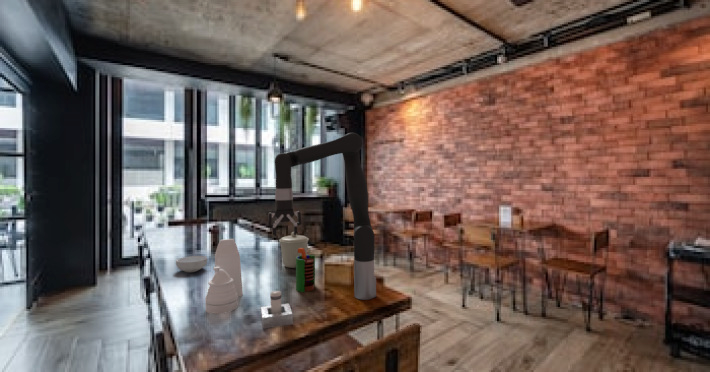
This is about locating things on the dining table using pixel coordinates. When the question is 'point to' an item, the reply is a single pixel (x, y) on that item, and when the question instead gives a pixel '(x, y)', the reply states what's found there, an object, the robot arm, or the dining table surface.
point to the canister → (292, 248)
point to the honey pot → (221, 293)
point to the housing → (276, 316)
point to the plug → (275, 302)
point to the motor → (305, 271)
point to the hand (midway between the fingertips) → (285, 235)
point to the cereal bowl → (191, 263)
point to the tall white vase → (230, 262)
